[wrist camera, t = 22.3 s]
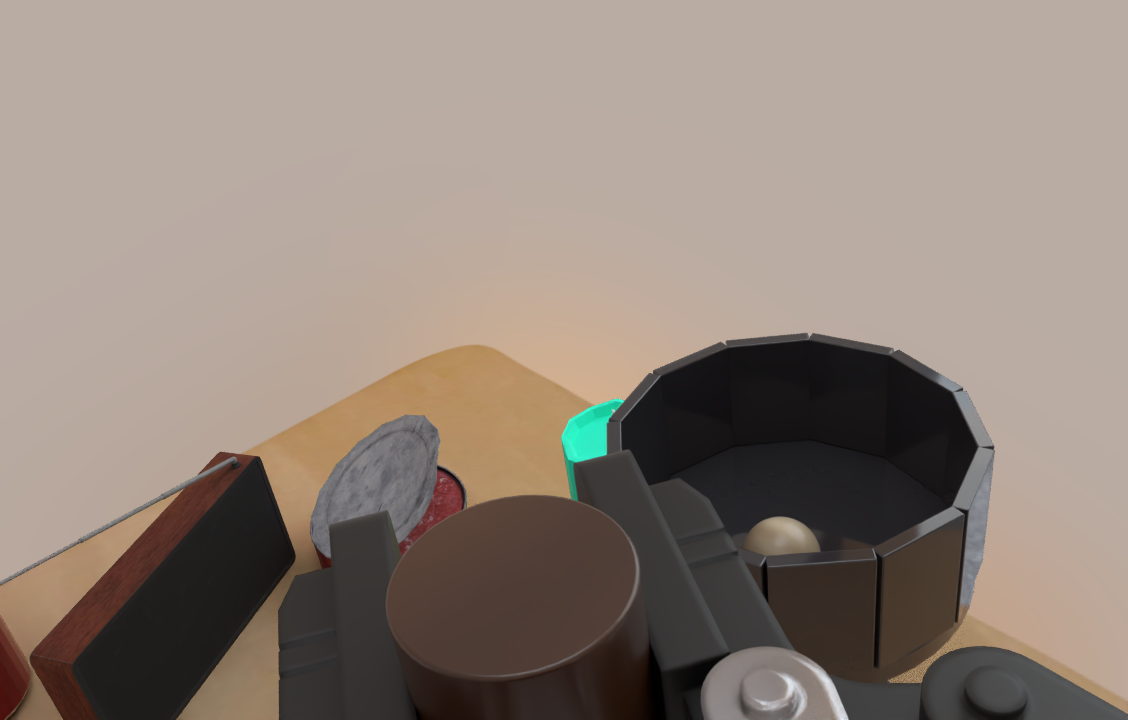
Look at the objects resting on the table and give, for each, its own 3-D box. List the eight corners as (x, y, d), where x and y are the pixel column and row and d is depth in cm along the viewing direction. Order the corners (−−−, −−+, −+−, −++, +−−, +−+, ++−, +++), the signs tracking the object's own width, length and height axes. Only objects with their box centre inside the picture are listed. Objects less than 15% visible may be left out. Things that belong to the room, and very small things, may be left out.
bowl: (987, 698, 53) (1028, 372, 42) (898, 956, 43) (922, 617, 33) (723, 609, 60) (702, 311, 49) (597, 813, 50) (537, 497, 40)
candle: (586, 542, 66) (560, 382, 60) (683, 535, 65) (667, 373, 59) (582, 614, 61) (554, 449, 54) (688, 608, 60) (671, 440, 54)
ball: (832, 528, 40) (768, 570, 39) (841, 583, 41) (780, 624, 40) (781, 489, 42) (720, 527, 41) (792, 542, 44) (733, 580, 43)
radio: (257, 551, 69) (182, 359, 61) (296, 558, 68) (226, 363, 60) (59, 798, 55) (-72, 590, 47) (106, 811, 54) (-21, 600, 46)
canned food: (464, 633, 67) (427, 587, 58) (314, 609, 69) (257, 562, 60) (501, 468, 72) (472, 403, 64) (361, 450, 74) (314, 385, 65)
